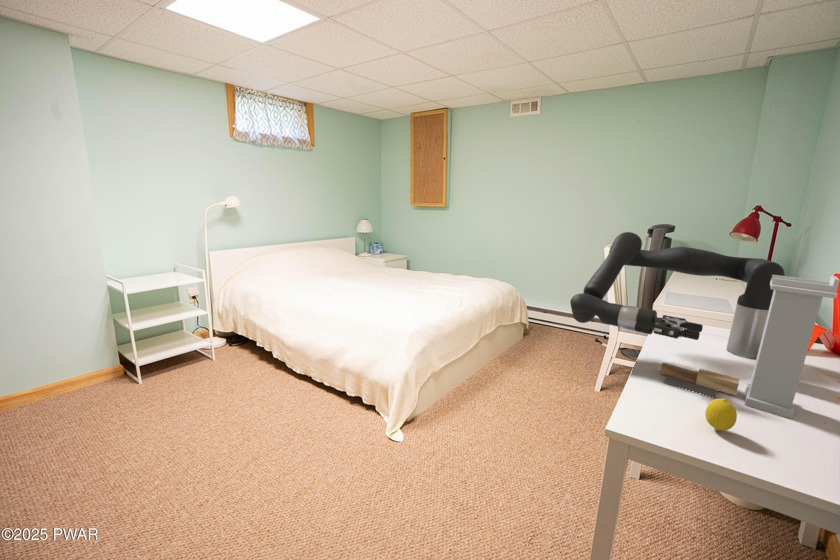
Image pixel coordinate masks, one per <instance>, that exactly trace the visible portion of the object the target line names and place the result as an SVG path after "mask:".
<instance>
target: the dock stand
mask: <svg viewBox="0 0 840 560" xmlns="http://www.w3.org/2000/svg"><path fill="white" fill-rule="evenodd" d="M839 284H840V279H839V278H838V277H837V276H835V275H831V276H830V278H829V281H826V280H817V279H810V278H802V277H801V278H800V277H794V276H793V277H792V276H785V275H784V276H778V275H772V279H771V281H770V286H771V289H772V290H774V291H773V295H772V299H771V303H770V307H769V311H768V315H767V319H766V323H765V327H764V331H763V335H762V339H761V343H760V347H759V351H758V355H757V358H755V362H754V363H755V364H754V366H753V367H754V368H753V372H752V375H751V379H750V382H749V383H747V384H746V389H745V397H744V406H746V407H751V408H754V409H757V410H761V411H764V412H766V413H767V412H768V413H771V414H774V415H777V416H780V417H783V418H787V419H791V420H793V419H794V415H795V408H794V407H795V406H794V400H795V396H796V393H797V391H798V390H797V389H798V386H799V382H800V378H801V375H802V371H803V367H804V364H805V361H806V357H807V354H808V350H809V347H810V343H811V339H812V335H813V333H814V329H815V326H816V322H817V318H818V315H819V311H820V308H821V305H822V302H823V297H824V298H831V299H837V297H838V293H837V291H838V288H839Z"/></svg>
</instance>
